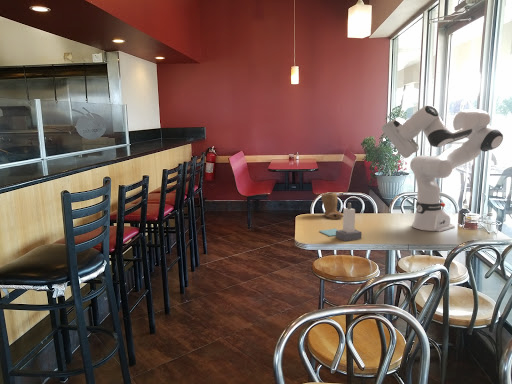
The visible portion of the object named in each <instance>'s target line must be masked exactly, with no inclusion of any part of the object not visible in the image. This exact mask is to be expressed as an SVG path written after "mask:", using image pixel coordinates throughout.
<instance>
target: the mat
mask: <svg viewBox="0 0 512 384" xmlns="http://www.w3.org/2000/svg"><path fill="white" fill-rule="evenodd" d="M337 230H338V229H337V228H331V229H330V228H329V229H324V230H323V229H321V230H319V231H318V232H319V233H321V234H323V235H325V236H328V237H330V238H331V237H336V231H337Z"/></svg>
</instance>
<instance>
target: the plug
mask: <svg viewBox="0 0 512 384" xmlns="http://www.w3.org/2000/svg"><path fill="white" fill-rule="evenodd" d="M342 212H343V214H342V215H343V217H342V219H343V220H342V230H343V231H344V232H346V233H351V232H354V229H355V224H356V223H355V222H356V220H355V219H356V209H355V208H352V203H351V202H347V207H346V208H343V211H342ZM355 230H356V229H355Z"/></svg>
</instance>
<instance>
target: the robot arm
mask: <svg viewBox="0 0 512 384" xmlns="http://www.w3.org/2000/svg"><path fill="white" fill-rule="evenodd" d="M490 122H491V116H490V114H489V113H488V112H487V111H484V110H481V109H464V110H461V111H459V112H458V113H456V114H455V116H454V118H453V122H452V126H453V129H454V131H453V130H452V131H450V129H448V128H447V126H446V125H445V123H444V121H443V120H442V118H441V116H440V115H439V111H438V109H437V108H436V107H435V106H433V105H430V104H427V105H425V106H423V107H421V108H420V109H418V110H417V111H416V112H415V113H413V114H412V115H411V117H409V118H408V119H407V120H405V119H403V118H401V117H395V118H394V119H392V120H391V121H388V122H386V123H384V124H383V125H382V126H381V131H382V132H383V135H382V138H381V139H380V142H381V143H384V142H385V141H386V137H387V138H388V140H389V141H390V142H391V143H392V145H393V146H394V147H395V148H396V150H397V151H398V152H393V153H391V156H392V157H396V156H400V155H401V156H402V158H404V159H407V158H409V157H410V156H412V155H413V154H414V153H416V152H418V151H419V149H420V147H419V146H420V145H419V144H418V143H417V142H416V140H415V139H414V138H416V137H417V136H419V135H420V132H423V134H424V135H425V137H426V138H427V141H428V144H429V145H430V146H431V147H434V148H441V147H444V146H445V145H448V144H450V143H451V144H452V143H453V142H458V141H461V140H463V139H465V138H466V139H467V141H464V142H460V143H458V144H455V145H453V146H451V147H447V148H446V149H443V150H442V152H441V154H438V155H435V156H434V155H433V156H432V155H423V154H422V155H416V156H414V157H413V158H412V159H411V161H410V164H409V166H410V167H409V168H410V170H411V171H412V172H413V174H414V177H415V180H416V185H417V196H416V197H417V200H416V203H415V213H414V214H415V215H414V219H413V222H412V228H414V229H417V230H421V231H427V232H428V231H430V232H431V231H432V232H444V231H447V230H451V229H454V228H455V226H456V225H454V224H453V223H451V217H450V215H449V214H448V213H446V212H445V211H444V210H443V208H445V206H446V203H445V202H440V200H441V199H440V198H441V197H440V196H441V195H440V194H441V187H440V186H439V184H438V183H437V181H436V179H445V178H447V177H449V176H450V175H451V174H452V172H453V170H454V169H455V168H457V167H460V166H462V165H464V164H467V163H469V162H471V161H474V160H475V158H478V157H479V155H480V154H481V152H488V151H492V150H495V149H496V148H498V147H500V145H501V144H502V142H503V139H504V135H503V133H502V132H501V131H500V130H498V129H496V128H495V127H493V126H491V125H489V124H490Z"/></svg>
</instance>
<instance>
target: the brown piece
mask: <svg viewBox="0 0 512 384" xmlns="http://www.w3.org/2000/svg"><path fill="white" fill-rule="evenodd" d="M321 202H322V204H323V206H324V213H323V215H324V216H326V217H327V218H329V219H331V220H332V219H333V220H339V219H343V214H342V213H341V212H340V211H339V210H338V209H337V208H338V194H337V193H336V192H334V191H333V192H325V193H321Z"/></svg>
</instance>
